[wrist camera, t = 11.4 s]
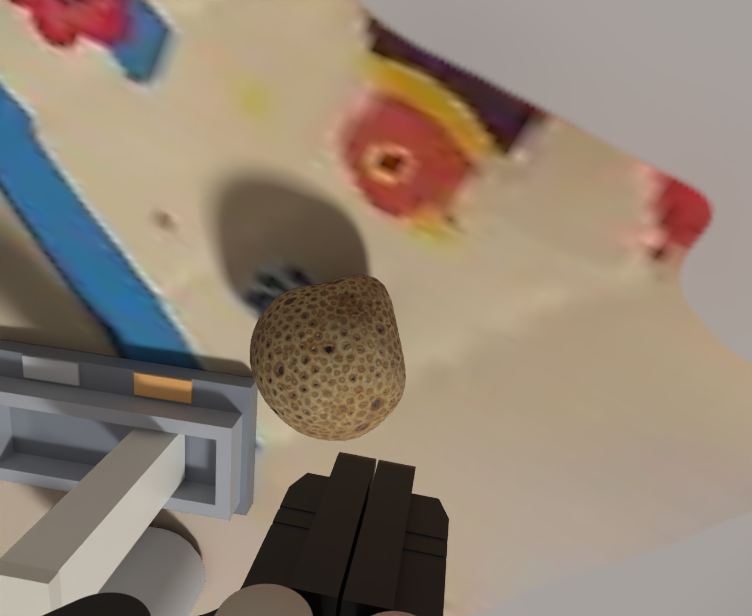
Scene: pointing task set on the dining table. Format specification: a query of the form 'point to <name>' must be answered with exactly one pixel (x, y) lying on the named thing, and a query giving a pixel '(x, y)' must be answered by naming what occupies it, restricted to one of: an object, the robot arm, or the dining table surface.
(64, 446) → the slide switch
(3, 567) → the switch lever
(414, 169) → the dining table surface
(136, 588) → the can
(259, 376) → the natural sponge
